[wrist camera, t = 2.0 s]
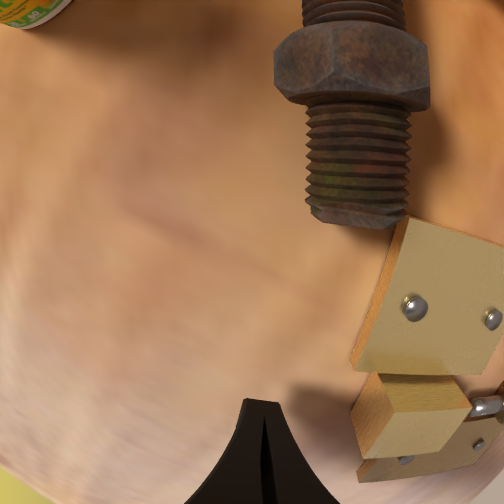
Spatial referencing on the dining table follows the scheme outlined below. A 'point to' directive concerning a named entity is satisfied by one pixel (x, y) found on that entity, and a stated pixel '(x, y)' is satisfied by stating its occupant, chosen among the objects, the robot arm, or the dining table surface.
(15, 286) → the dining table surface
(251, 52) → the dining table surface
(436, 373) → the loose leaf
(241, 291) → the dining table surface
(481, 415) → the fixed leaf
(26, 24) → the supplement bottle
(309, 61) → the bolt
